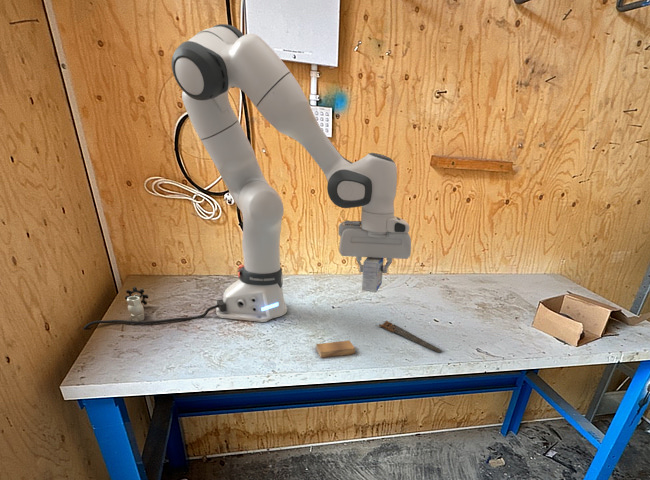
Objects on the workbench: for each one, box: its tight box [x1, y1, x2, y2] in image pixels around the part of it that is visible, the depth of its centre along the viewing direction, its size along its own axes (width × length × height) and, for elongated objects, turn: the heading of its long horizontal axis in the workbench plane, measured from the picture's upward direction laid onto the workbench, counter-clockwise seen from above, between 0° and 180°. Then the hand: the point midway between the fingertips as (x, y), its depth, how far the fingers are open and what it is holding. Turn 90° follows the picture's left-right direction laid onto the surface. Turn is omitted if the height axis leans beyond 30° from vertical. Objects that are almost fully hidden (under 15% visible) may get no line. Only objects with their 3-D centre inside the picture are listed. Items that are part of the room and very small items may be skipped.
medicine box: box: [361, 257, 385, 293], centre depth 126 cm, size 8×4×9 cm, turn 168°
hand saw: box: [378, 320, 443, 353], centre depth 135 cm, size 24×5×1 cm, turn 48°
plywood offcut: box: [315, 340, 356, 359], centre depth 123 cm, size 10×5×2 cm, turn 112°
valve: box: [124, 286, 149, 321], centre depth 132 cm, size 7×7×12 cm
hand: (373, 272), depth 126 cm, fingers closed on medicine box, 5 cm apart
